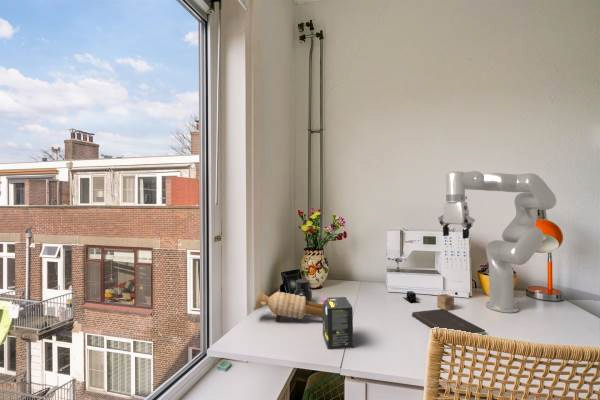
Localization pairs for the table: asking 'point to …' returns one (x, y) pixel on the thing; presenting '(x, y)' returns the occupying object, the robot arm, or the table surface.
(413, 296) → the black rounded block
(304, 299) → the tan long ribbed piece
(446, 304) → the walnut block
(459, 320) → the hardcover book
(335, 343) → the tampon box
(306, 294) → the ink bottle
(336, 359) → the table surface
